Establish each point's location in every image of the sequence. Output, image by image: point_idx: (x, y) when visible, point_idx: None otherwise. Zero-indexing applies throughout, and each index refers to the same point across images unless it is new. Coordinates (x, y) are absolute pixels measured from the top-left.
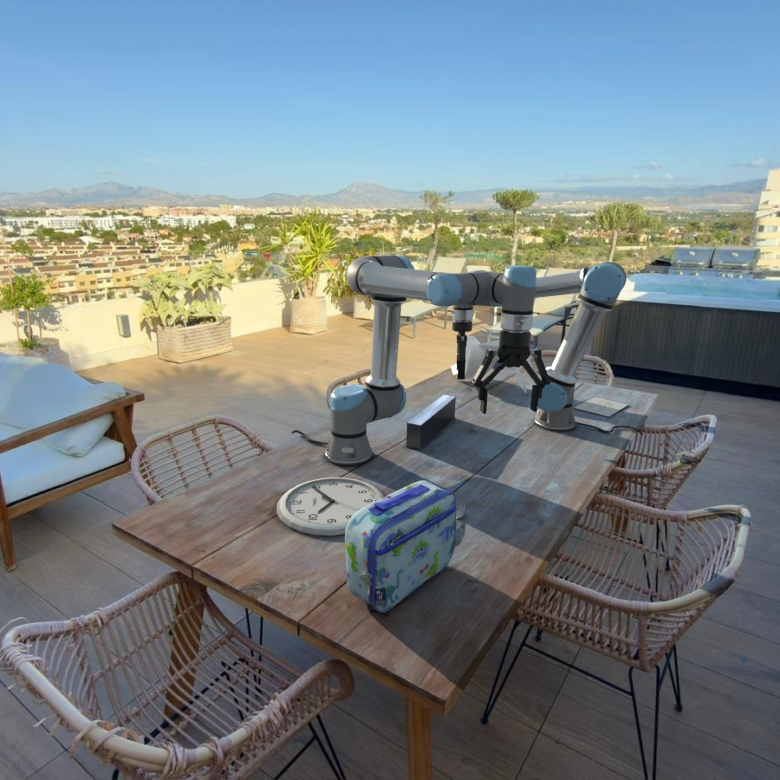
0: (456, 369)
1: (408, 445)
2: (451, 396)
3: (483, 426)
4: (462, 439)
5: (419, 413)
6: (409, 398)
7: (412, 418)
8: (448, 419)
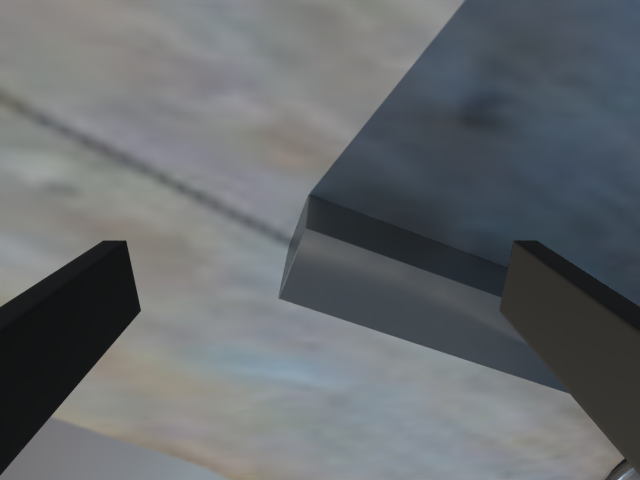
0: (132, 316)
1: None
2: (304, 253)
3: (412, 48)
4: (574, 166)
5: None
6: (90, 381)
7: None
8: (392, 230)
